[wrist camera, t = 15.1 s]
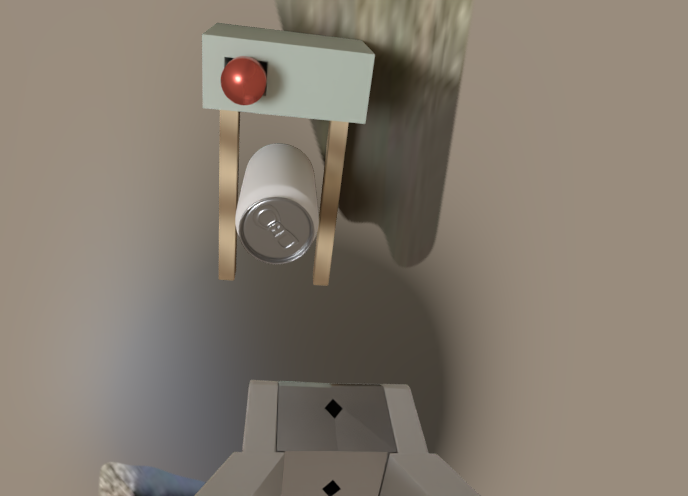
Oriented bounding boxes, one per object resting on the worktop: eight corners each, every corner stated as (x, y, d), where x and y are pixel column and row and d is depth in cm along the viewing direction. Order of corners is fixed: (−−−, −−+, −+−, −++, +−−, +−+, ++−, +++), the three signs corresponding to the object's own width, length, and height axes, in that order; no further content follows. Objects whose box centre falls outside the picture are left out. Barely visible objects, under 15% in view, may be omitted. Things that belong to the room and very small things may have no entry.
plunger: (232, 42, 40) (220, 57, 34) (270, 46, 41) (266, 62, 34) (231, 81, 42) (220, 103, 35) (269, 85, 42) (264, 107, 35)
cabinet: (217, 22, 42) (202, 34, 35) (361, 40, 43) (375, 54, 36) (217, 85, 44) (202, 107, 37) (354, 99, 46) (365, 123, 39)
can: (286, 127, 46) (285, 174, 36) (327, 182, 49) (337, 240, 39) (231, 167, 48) (213, 224, 37) (274, 218, 51) (269, 283, 40)
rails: (222, 103, 45) (219, 109, 43) (346, 115, 46) (348, 121, 45) (221, 269, 53) (218, 279, 51) (326, 275, 54) (328, 285, 53)
